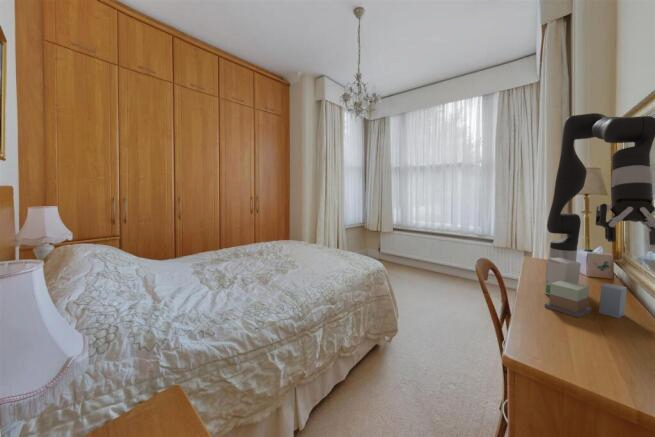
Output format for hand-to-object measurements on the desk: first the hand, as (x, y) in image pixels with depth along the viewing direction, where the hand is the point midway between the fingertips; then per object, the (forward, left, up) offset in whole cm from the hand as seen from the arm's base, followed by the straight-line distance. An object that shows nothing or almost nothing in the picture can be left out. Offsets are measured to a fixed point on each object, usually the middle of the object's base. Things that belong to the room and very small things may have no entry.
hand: (632, 243), depth 72 cm
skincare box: (-33, +19, -30) cm, 48 cm away
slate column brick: (-17, +21, -29) cm, 40 cm away
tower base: (-23, +10, -29) cm, 38 cm away
